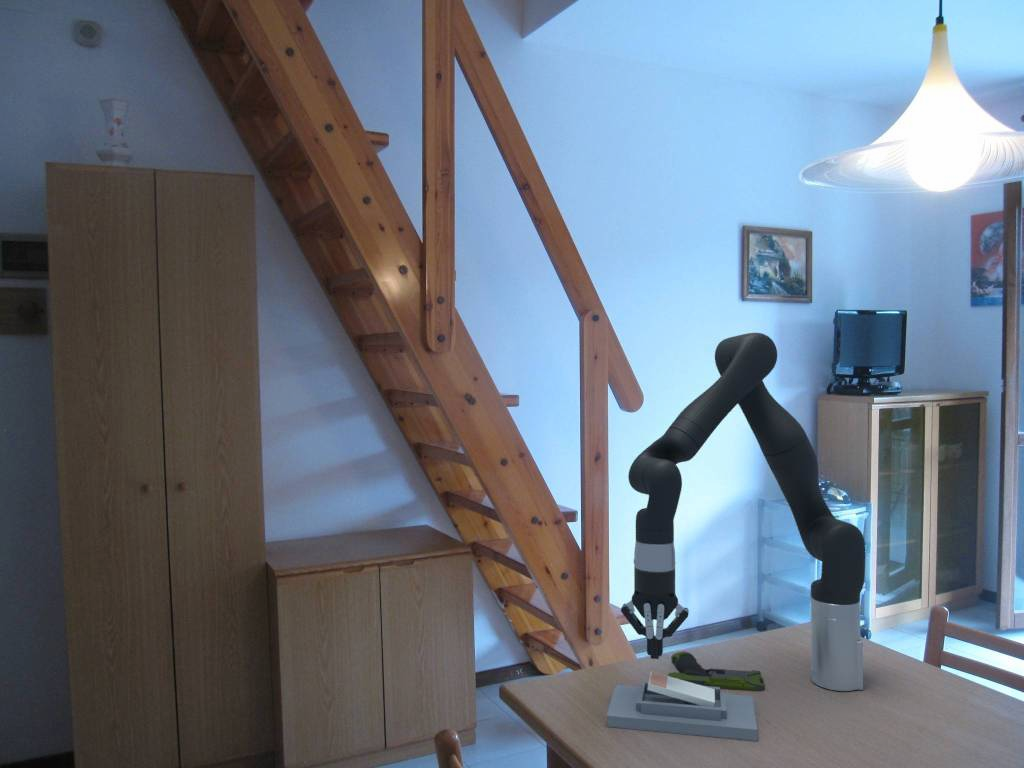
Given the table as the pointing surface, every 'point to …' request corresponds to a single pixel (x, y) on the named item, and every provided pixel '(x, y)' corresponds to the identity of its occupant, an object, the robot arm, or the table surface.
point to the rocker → (681, 689)
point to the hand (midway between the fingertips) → (654, 657)
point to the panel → (682, 713)
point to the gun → (715, 675)
